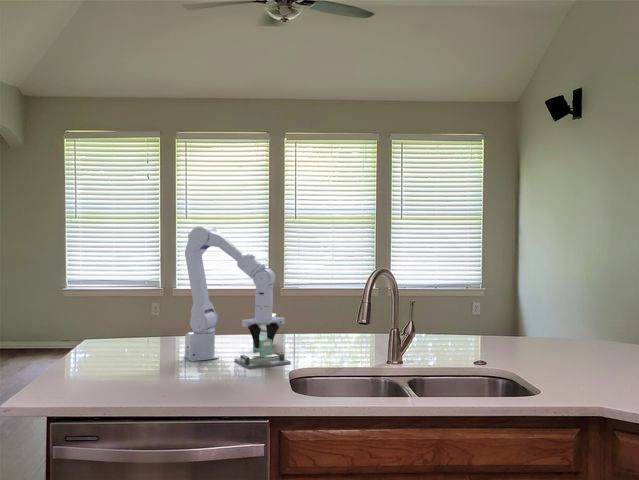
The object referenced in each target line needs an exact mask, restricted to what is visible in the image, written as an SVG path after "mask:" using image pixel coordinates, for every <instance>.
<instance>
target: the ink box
mask: <svg viewBox="0 0 639 480" xmlns="http://www.w3.org/2000/svg"><path fill="white" fill-rule="evenodd" d="M272 317H277V313H273V312H272ZM259 326H260V327H259V328H261V331H260V337H267V329H266V325H259ZM275 344H276V335H275V336H274V339H273V343H272V348H273V347H274V346H275Z"/></svg>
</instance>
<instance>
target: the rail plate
mask: <svg viewBox="0 0 639 480" xmlns="http://www.w3.org/2000/svg"><path fill="white" fill-rule="evenodd" d="M234 362H236V364H239V365H240V366H242V367H244V368H246V369H247V370H249V369H250V370H251V369H252V370H253V369H261V368H266V367H267V368H268V367H276V366H277V367H278V366H283V365H291V362H292V361H291V360H289V359H286V358H285V353H283V352H281V351H278V350H276V351H275V353H272V355H268V356H260V355H253V356H252V355H251V356H247V355H245V354H243V355H242V354H241V355H240V357H239V358H238V357H237V358H234Z"/></svg>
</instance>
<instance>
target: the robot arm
mask: <svg viewBox="0 0 639 480" xmlns="http://www.w3.org/2000/svg"><path fill="white" fill-rule="evenodd" d="M187 238H188V240H187V243H186V246H185V251H184V255H185V256H184V257H185V262H186V267H187V274H188V279H189V285H190V291H191V297H192V302H193V304H192V307H191V309H190V320H189V325H190V327H191V329H192V331H191V332H187V333H186V334H185V339H184V341H185V342H184V356H183V357H184V358H186V359H188V360H189V361H190V362H197V361H206V360H207V361H208V360H217V359H219V356H218V355H216V354H215V350H216V349H215V343H216V342H215V341H216V329H215V328H216V326H217V324H218V322H219V316H218V313H217V312H216V310H215V307H214V305H213V303H212V302H211V301H210V296H209V289H208V284H207V278H206V273H205V267H204V261H203V255H204V253H205V252H206V251H208V248H210V247H214V248H215V247H217V248H219V249H220V250H222V251H223V252H224V253H225V254H227V255H228V256H230V258H232V259H233V260H235V261H236V264H237V267H238V268H239V269H240V270H241V271H242V272H243V273H245V274H246V275H247V277H250V278H251V279H252V281H253V284H254V285H255V294H254V295H255V298H254V300H255V301H254V302H255V304H254V310H255V311H254V318H249V319H247V318H246V319H241V326H242V327H245V328H248V330H249V332H250V335H251V338H252V343H253V342H254V347H255V348H259V337H260V331H261V328H260V327H259V326H261V325H266V329H267V338H269V339H272V343H273V339H274V336H275V337H276V334H277V332H278V330H279V328H280V324H281V325H285V317H280V316H279V317H277V316H276V317H272V313H273V308H274V307H273V303H274V302H273V301H274V283H275V281H276V274H275V272H274V271H273V270H272V269H271V268H269V267H267V265H266V264H262V263H261V262H260V261H258V260H257V259H256V255H254V254H253V253H252V254H250V253H243V251H241V250H240V249H239V248H238V247H237V246H236V245H235V244H234V243H232V242H231V240H229V238H227V237H226V236H225V235H224V234H223V233H222V232H221V231H218V230H217V229H216V228H215V227H213V226H201V225H200V226H199V225H198V226H195V227H194V228H192V229H191V230H190V232H189V233H188V235H187Z"/></svg>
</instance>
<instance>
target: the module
mask: <svg viewBox="0 0 639 480" xmlns="http://www.w3.org/2000/svg"><path fill="white" fill-rule="evenodd" d="M252 353H254V354H258V353H259V356H268V355H272V354H273V347H272V339H269V338H267V337H259V348H255V347H254V342H253V341H252Z"/></svg>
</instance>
